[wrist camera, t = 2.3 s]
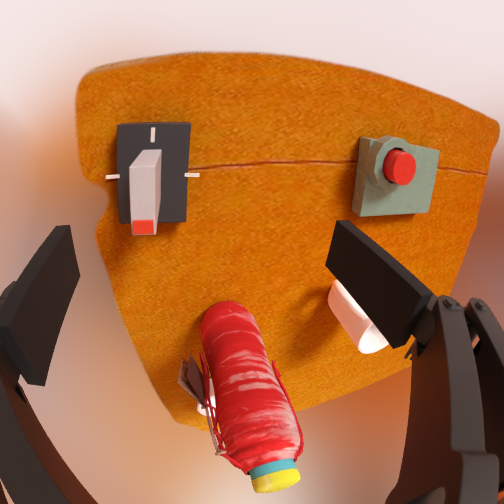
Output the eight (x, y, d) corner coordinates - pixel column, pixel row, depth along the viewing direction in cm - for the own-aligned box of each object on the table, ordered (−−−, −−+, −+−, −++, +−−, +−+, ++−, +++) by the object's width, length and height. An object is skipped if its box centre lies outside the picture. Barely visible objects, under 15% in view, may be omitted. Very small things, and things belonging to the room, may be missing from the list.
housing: (349, 210, 35) (366, 222, 32) (358, 130, 30) (378, 135, 27) (418, 207, 39) (435, 217, 35) (430, 142, 33) (449, 148, 30)
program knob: (142, 149, 23) (128, 167, 16) (161, 149, 24) (154, 167, 17) (142, 200, 26) (131, 236, 19) (160, 199, 26) (155, 236, 19)
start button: (380, 180, 30) (390, 185, 28) (384, 147, 28) (395, 151, 26) (402, 181, 31) (413, 186, 29) (407, 150, 29) (418, 154, 27)
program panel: (111, 124, 23) (105, 125, 21) (200, 122, 26) (203, 124, 23) (114, 215, 28) (109, 224, 26) (195, 213, 30) (196, 223, 28)
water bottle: (171, 336, 38) (194, 507, 17) (171, 292, 35) (196, 495, 14) (250, 334, 42) (308, 486, 21) (260, 293, 38) (340, 464, 17)
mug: (301, 287, 40) (333, 337, 31) (341, 246, 38) (384, 288, 29) (342, 316, 46) (373, 358, 37) (376, 282, 44) (412, 320, 35)
